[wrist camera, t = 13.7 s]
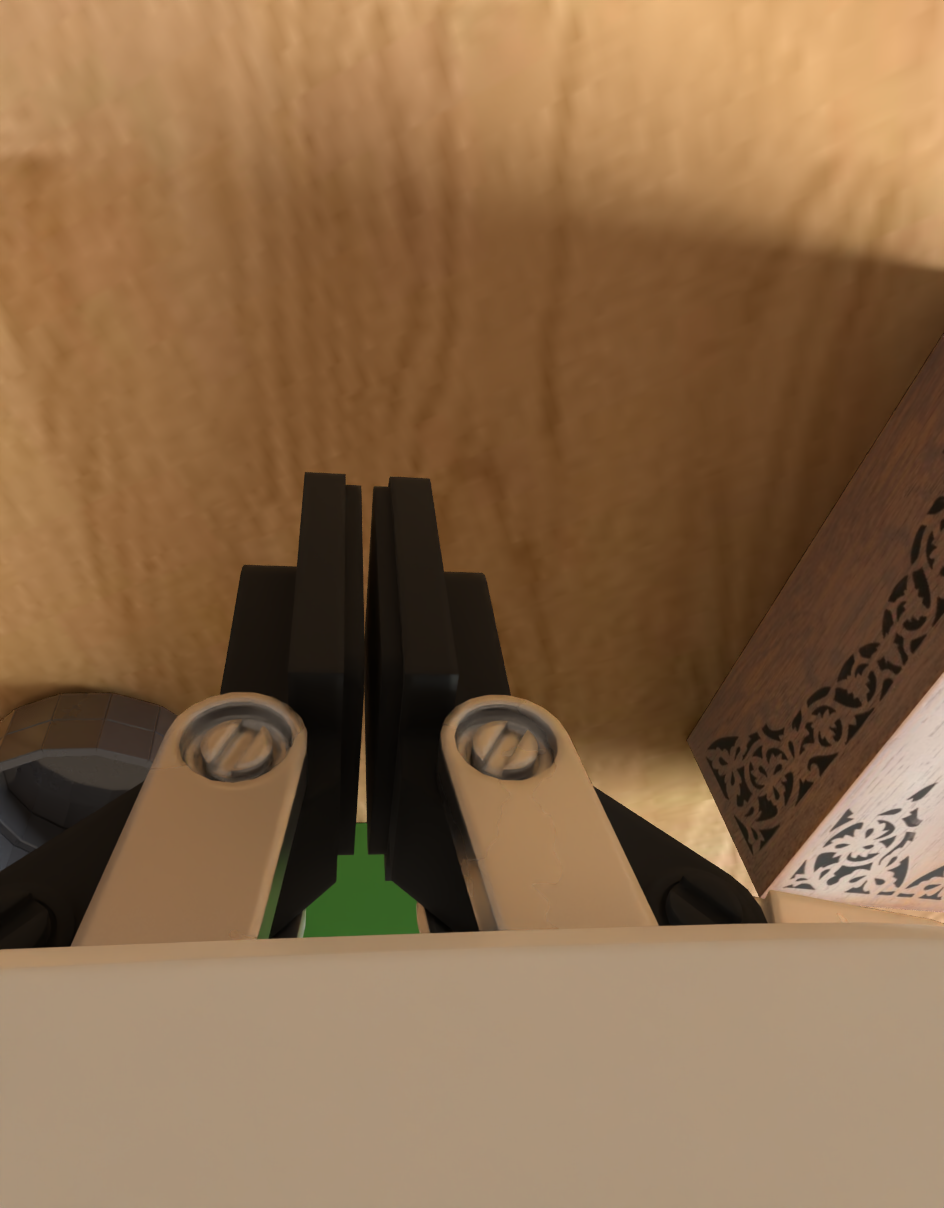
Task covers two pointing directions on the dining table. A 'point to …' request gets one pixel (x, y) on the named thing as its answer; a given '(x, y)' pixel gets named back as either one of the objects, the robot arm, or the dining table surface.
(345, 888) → the hardback book
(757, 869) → the tissue box cover
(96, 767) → the ashtray
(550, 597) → the dining table surface
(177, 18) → the dining table surface
